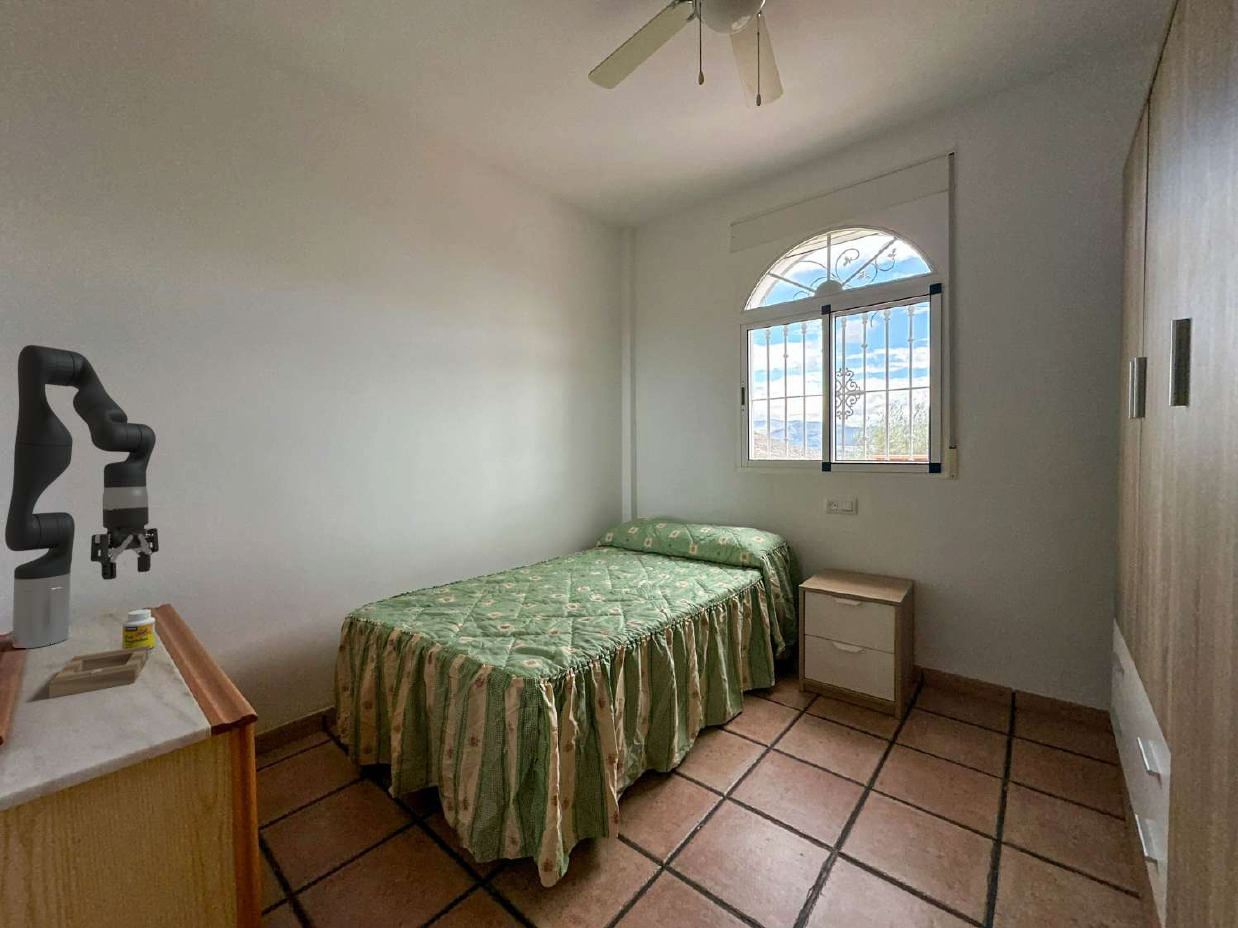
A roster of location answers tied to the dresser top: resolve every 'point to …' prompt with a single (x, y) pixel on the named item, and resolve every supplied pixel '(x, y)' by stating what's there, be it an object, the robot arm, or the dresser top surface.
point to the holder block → (99, 671)
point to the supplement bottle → (139, 630)
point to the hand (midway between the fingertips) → (127, 575)
